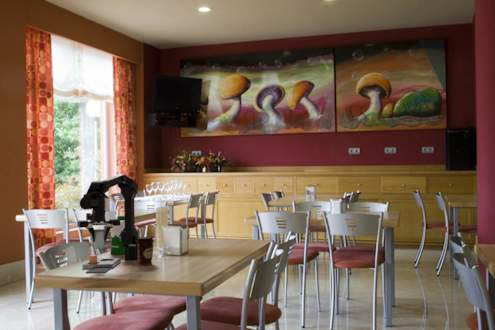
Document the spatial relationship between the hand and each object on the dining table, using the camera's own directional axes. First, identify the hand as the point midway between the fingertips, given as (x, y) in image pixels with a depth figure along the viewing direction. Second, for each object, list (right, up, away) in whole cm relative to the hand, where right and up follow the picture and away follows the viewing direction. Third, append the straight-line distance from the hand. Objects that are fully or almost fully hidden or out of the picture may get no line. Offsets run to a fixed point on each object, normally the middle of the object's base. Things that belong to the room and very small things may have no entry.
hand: (99, 241), depth 252 cm
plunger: (-4, -12, +5) cm, 13 cm away
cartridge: (0, -3, 0) cm, 3 cm away
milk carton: (-1, -13, +44) cm, 46 cm away
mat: (+1, -13, -4) cm, 13 cm away
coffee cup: (+20, -13, +10) cm, 25 cm away
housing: (-1, -13, +10) cm, 16 cm away
